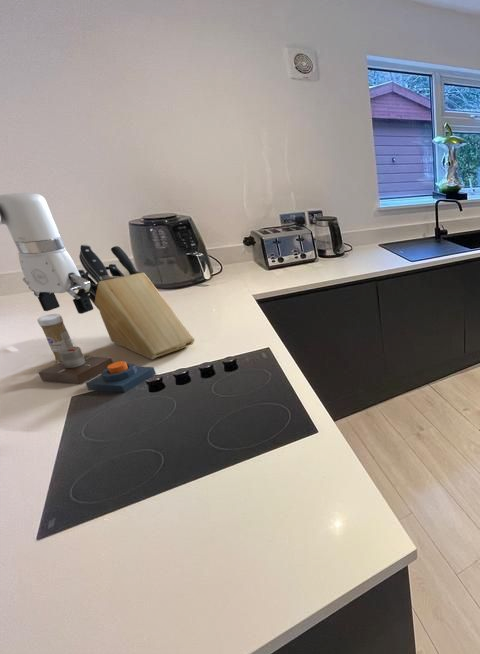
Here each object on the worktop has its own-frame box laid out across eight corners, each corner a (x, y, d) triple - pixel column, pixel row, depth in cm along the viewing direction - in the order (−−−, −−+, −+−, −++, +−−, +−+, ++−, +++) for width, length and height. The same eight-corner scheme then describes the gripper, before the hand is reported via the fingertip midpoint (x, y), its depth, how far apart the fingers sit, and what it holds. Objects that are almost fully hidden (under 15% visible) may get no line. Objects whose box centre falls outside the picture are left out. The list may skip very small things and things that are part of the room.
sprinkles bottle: (51, 362, 114) (31, 320, 109) (65, 354, 118) (46, 313, 113) (70, 361, 115) (51, 319, 110) (83, 353, 119) (65, 313, 114)
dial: (60, 367, 107) (53, 352, 105) (76, 360, 110) (69, 345, 109) (74, 368, 106) (67, 353, 105) (90, 361, 110) (83, 345, 108)
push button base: (88, 390, 103) (82, 377, 101) (122, 371, 111) (117, 359, 110) (124, 393, 102) (119, 379, 101) (156, 374, 111) (151, 361, 109)
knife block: (139, 323, 139) (107, 236, 127) (198, 347, 125) (168, 251, 113) (97, 336, 129) (58, 243, 117) (155, 363, 115) (118, 261, 103)
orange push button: (105, 373, 104) (103, 367, 103) (119, 366, 107) (117, 360, 107) (118, 374, 104) (116, 368, 103) (131, 367, 107) (129, 361, 106)
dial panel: (42, 381, 106) (37, 371, 105) (79, 364, 114) (74, 354, 113) (80, 384, 105) (76, 374, 104) (114, 366, 113) (110, 357, 112)
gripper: (-11, 247, 94) (21, 313, 100) (55, 251, 92) (83, 318, 99) (28, 240, 101) (55, 302, 107) (90, 244, 99) (114, 307, 106)
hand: (69, 310), depth 103 cm, fingers open, 9 cm apart
